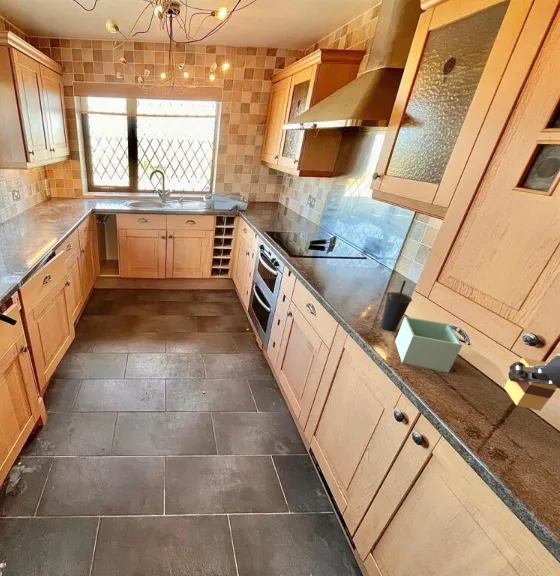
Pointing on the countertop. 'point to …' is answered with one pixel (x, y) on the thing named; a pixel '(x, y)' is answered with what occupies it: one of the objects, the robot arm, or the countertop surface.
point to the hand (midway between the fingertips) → (525, 379)
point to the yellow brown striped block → (530, 390)
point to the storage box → (427, 344)
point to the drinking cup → (394, 309)
